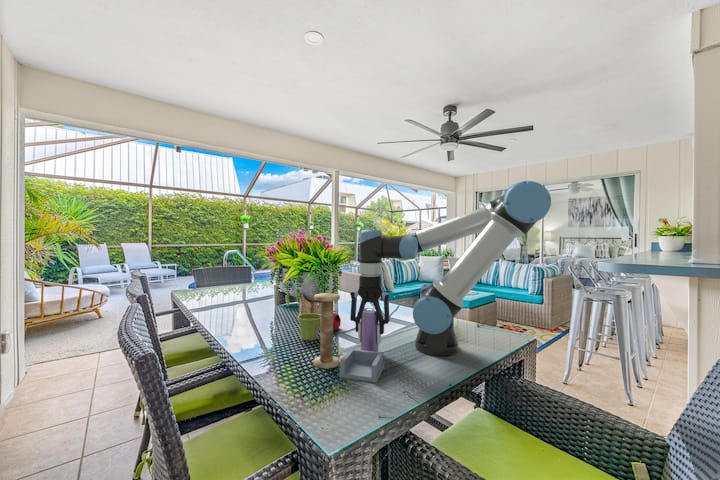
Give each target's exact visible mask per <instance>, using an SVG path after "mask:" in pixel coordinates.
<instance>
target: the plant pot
mask: <svg viewBox="0 0 720 480" xmlns="http://www.w3.org/2000/svg"><path fill="white" fill-rule="evenodd" d="M320 316H321V314H320V313H302V314H300V315H297V319H298V323H299V328H300V333H301V334H300V335H301V340H303V341H315V340H317V339H318V338H319V336H318V335H319V330H320V327H319V325H320Z"/></svg>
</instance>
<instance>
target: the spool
mask: <svg viewBox="0 0 720 480" xmlns="http://www.w3.org/2000/svg"><path fill="white" fill-rule="evenodd" d="M340 298H341V295H340V294H338V293H334V292H333V293H332V292H325V293H324V292H323V293H317V294H314V296H313V299H314V300H315V301H317V302H320V315H321V316H320V327H319V330H320V332H319V333H320V335H319V336H320V339H319V340H320V341H319V343H320V344H319V349H320V351H319V356H317V357H315V358H313V365H314V367H316V368H317V369H320V370H321V369H323V370H328V369H329V370H330V369H333V368H334V369H335V368H336V367H338V366H340V358H339V357H338V356H335V355H334V331H333V313H334V312H333V311H334V302H336V301H339V300H340Z"/></svg>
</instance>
